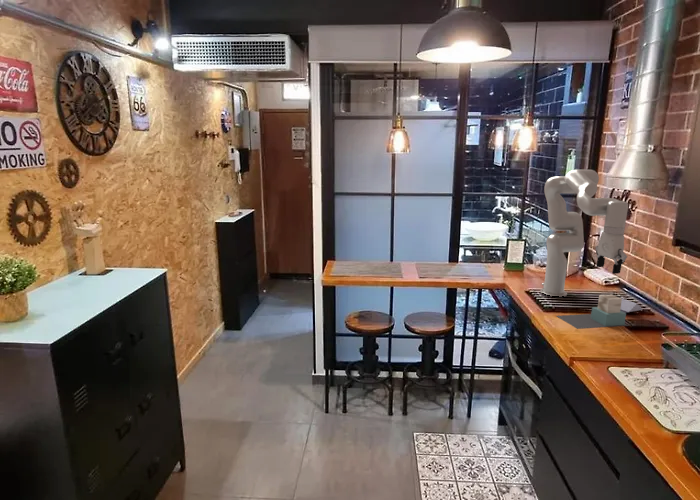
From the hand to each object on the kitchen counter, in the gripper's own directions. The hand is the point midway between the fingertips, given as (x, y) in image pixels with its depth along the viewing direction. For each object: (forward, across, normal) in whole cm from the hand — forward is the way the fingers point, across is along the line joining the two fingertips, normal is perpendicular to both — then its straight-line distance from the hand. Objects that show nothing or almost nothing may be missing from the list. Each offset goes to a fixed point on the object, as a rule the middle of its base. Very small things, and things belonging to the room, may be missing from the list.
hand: (607, 270), depth 194 cm
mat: (+23, +2, -6) cm, 24 cm away
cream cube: (+17, +4, 0) cm, 17 cm away
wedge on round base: (+23, -7, +16) cm, 29 cm away
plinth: (+22, +4, 0) cm, 22 cm away
